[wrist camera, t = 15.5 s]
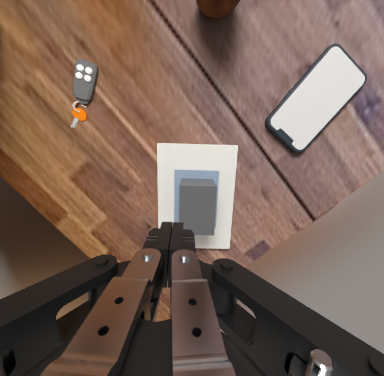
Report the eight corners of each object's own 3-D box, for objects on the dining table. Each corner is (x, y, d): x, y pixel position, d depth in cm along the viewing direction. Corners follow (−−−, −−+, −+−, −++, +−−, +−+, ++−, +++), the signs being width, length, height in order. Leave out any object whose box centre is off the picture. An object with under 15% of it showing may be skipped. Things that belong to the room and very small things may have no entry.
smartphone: (328, 44, 30) (260, 123, 33) (335, 38, 29) (264, 122, 31) (362, 82, 32) (295, 155, 34) (371, 78, 30) (300, 156, 33)
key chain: (78, 60, 30) (72, 55, 29) (100, 67, 31) (96, 63, 29) (67, 138, 33) (61, 138, 32) (88, 144, 34) (83, 144, 32)
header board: (159, 244, 38) (155, 257, 33) (158, 143, 33) (153, 142, 29) (228, 246, 38) (233, 259, 34) (236, 145, 33) (243, 145, 29)
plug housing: (180, 219, 35) (178, 234, 29) (181, 178, 33) (179, 185, 28) (210, 220, 35) (214, 235, 30) (212, 179, 34) (217, 186, 28)
